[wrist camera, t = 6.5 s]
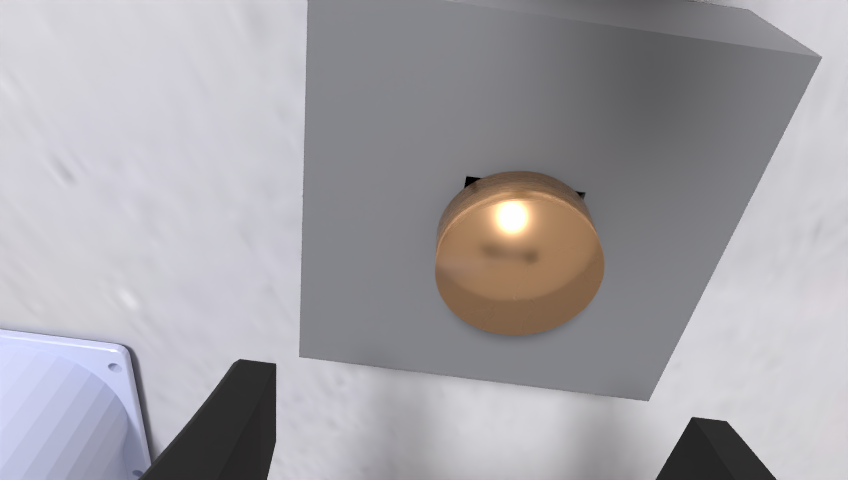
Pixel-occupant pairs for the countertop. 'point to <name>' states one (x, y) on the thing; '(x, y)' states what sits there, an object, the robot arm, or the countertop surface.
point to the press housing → (531, 169)
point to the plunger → (517, 254)
